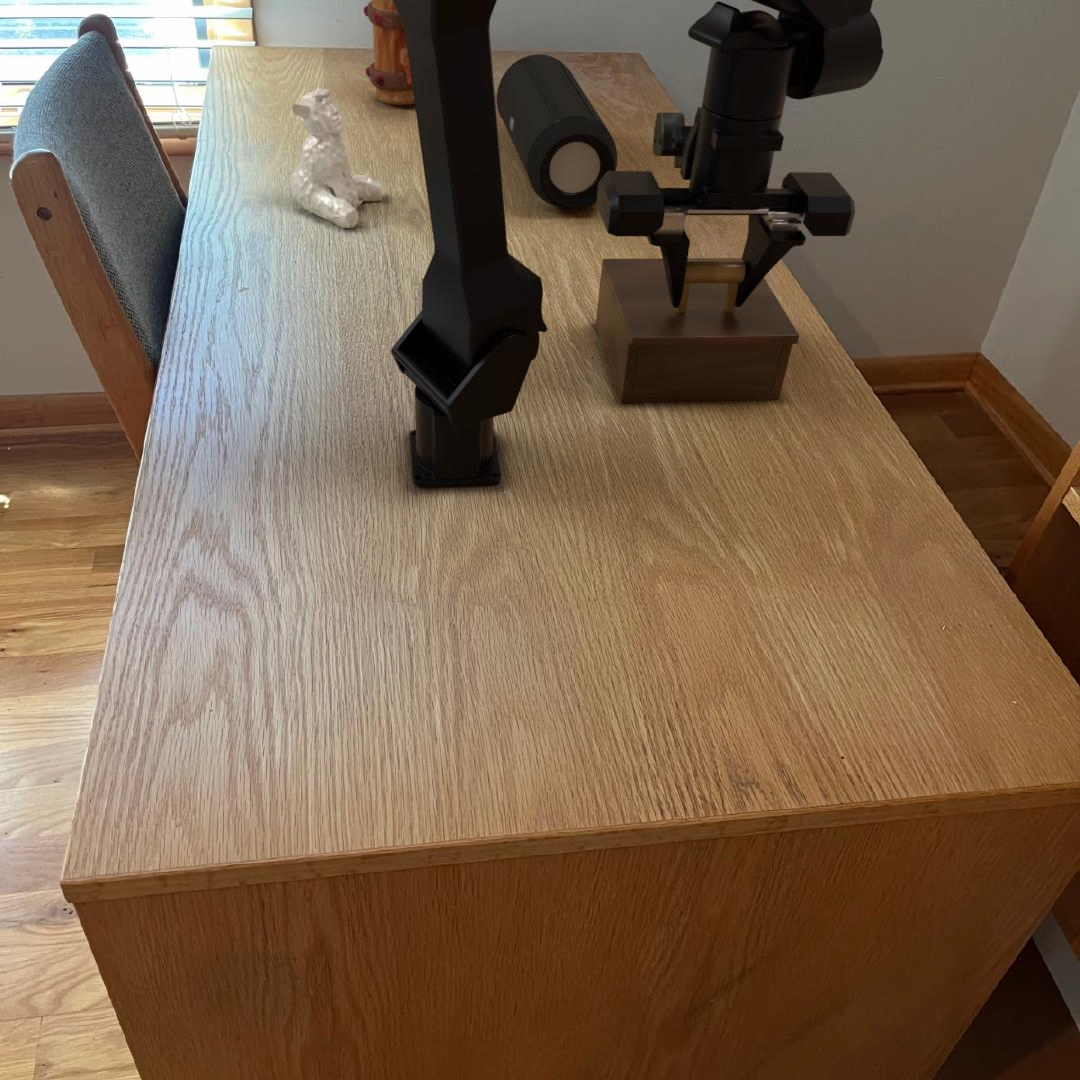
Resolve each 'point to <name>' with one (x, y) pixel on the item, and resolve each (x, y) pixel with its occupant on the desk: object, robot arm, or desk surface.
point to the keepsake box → (686, 365)
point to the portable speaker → (555, 131)
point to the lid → (695, 305)
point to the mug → (389, 54)
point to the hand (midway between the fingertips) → (705, 304)
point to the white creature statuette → (328, 165)
